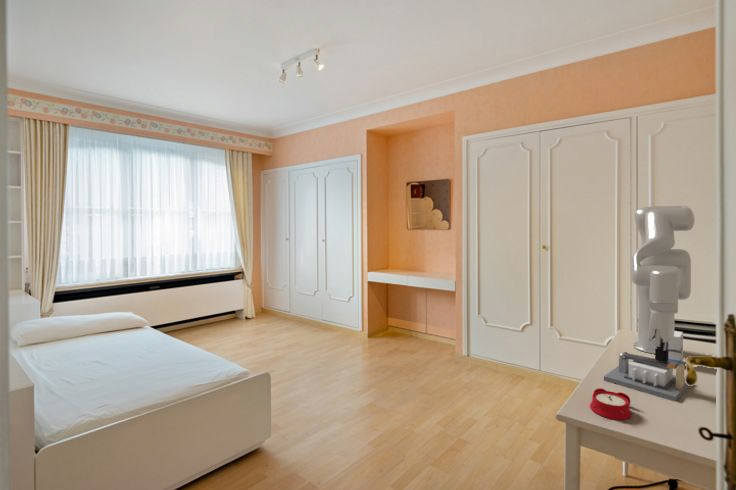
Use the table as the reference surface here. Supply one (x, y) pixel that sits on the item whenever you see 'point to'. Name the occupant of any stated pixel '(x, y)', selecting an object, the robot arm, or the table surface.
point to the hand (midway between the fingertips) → (661, 360)
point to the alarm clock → (610, 404)
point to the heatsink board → (644, 387)
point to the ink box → (676, 348)
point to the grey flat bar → (648, 360)
